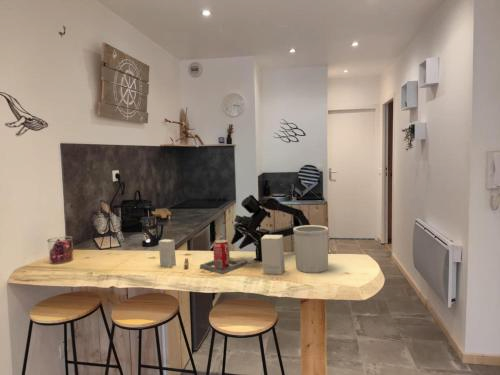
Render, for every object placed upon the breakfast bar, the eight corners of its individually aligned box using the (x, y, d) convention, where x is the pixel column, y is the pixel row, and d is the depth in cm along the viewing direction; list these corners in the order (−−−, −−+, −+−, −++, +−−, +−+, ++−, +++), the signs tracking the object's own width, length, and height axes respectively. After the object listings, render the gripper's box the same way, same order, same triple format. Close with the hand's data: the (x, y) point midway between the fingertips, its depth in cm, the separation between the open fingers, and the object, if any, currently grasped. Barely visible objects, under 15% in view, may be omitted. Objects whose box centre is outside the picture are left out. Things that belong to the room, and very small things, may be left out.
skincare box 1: (176, 265, 169) (174, 239, 168) (170, 267, 165) (169, 241, 164) (165, 263, 172) (164, 238, 170) (159, 266, 168) (158, 241, 167)
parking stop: (185, 262, 172) (184, 258, 172) (188, 262, 172) (188, 258, 172) (184, 269, 162) (184, 264, 162) (187, 269, 162) (187, 264, 162)
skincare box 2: (285, 270, 155) (284, 234, 154) (281, 275, 149) (280, 238, 148) (266, 269, 158) (265, 234, 157) (261, 274, 152) (260, 237, 150)
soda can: (228, 264, 167) (227, 238, 166) (231, 268, 160) (229, 242, 159) (213, 265, 166) (212, 239, 165) (215, 270, 159) (213, 243, 158)
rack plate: (247, 264, 166) (247, 260, 166) (222, 274, 154) (222, 270, 154) (225, 259, 175) (225, 255, 175) (200, 268, 163) (200, 264, 163)
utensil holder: (288, 265, 162) (287, 226, 160) (317, 260, 167) (316, 223, 165) (305, 275, 148) (304, 233, 146) (336, 270, 154) (335, 229, 152)
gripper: (236, 206, 175) (216, 231, 171) (253, 211, 158) (231, 239, 154) (252, 220, 179) (232, 245, 175) (270, 226, 162) (248, 254, 158)
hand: (235, 246), depth 165 cm, fingers open, 9 cm apart
